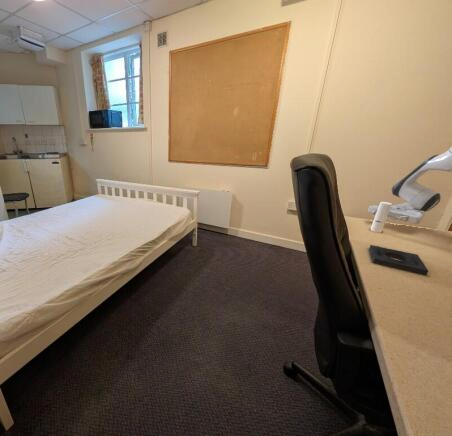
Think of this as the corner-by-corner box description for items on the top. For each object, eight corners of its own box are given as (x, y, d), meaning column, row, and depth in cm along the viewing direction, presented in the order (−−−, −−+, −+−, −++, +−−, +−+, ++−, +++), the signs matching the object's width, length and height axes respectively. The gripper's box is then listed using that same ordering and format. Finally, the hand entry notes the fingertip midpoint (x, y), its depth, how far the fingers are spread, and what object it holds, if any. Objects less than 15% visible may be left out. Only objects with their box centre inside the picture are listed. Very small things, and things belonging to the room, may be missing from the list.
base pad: (415, 258, 87) (417, 254, 87) (426, 275, 77) (428, 270, 76) (368, 248, 95) (370, 244, 95) (372, 262, 85) (374, 258, 84)
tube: (378, 229, 115) (388, 202, 110) (383, 232, 111) (394, 204, 106) (368, 228, 116) (378, 201, 111) (373, 231, 112) (383, 203, 107)
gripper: (378, 201, 125) (363, 204, 120) (429, 212, 107) (414, 215, 102) (374, 212, 127) (359, 215, 122) (424, 224, 109) (409, 228, 104)
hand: (385, 215), depth 112 cm, fingers open, 8 cm apart
